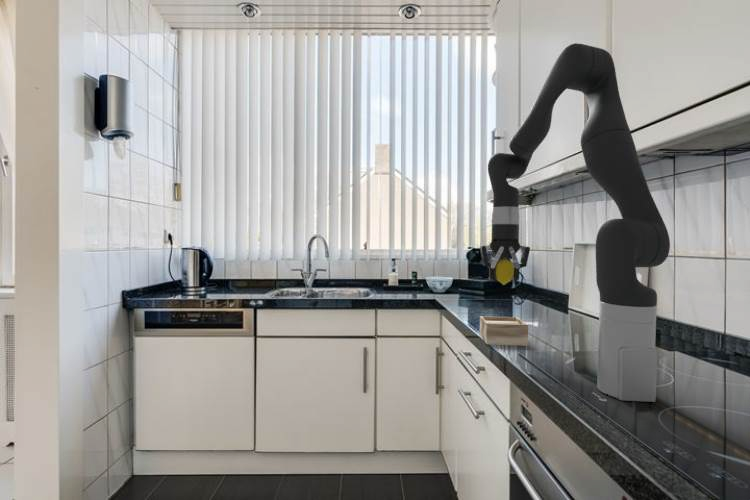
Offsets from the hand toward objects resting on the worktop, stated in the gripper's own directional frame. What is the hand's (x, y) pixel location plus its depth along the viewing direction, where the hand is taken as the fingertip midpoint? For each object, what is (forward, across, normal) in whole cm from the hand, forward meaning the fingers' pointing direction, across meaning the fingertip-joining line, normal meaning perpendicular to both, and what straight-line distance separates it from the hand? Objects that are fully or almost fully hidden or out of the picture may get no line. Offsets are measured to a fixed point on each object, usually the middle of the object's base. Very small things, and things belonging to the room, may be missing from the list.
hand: (503, 281), depth 117 cm
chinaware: (+18, -10, +108) cm, 110 cm away
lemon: (+1, 0, 0) cm, 1 cm away
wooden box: (+17, 0, 0) cm, 17 cm away
